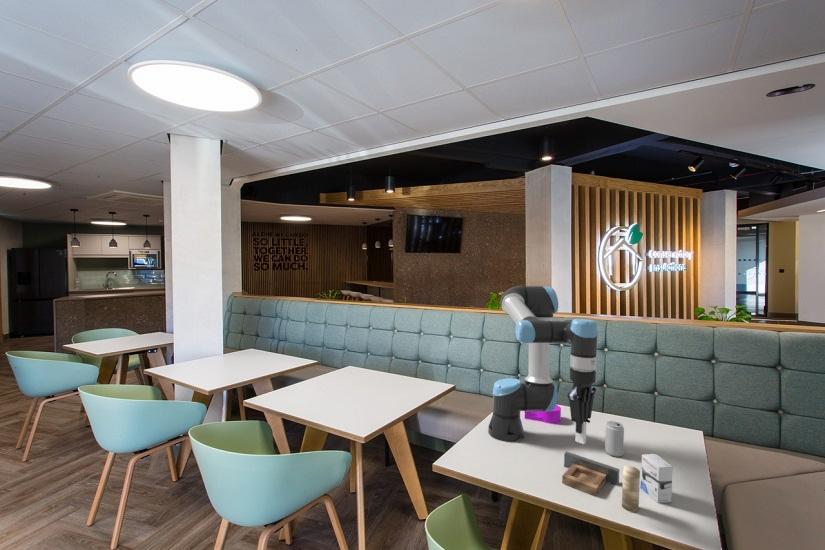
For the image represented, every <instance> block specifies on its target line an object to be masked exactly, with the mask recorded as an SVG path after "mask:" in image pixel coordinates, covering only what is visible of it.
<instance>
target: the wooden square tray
mask: <svg viewBox="0 0 825 550" xmlns="http://www.w3.org/2000/svg"><path fill="white" fill-rule="evenodd" d="M561 477H562V479H561V484H564V485H567V486H568V487H572V488H575V489H577V490H580V491H582V492H584V493H588V494H590V495H593V496H595V497H597V496H598V494H599V493H600V491H602V488H603V487H604V485H606V483H607V482H606V474H603V473H600V472H597V471H595V470H592V469H589V468H586V467H583V466H580V465H577V464H575V463H573V464H572V466H571V467H570V468H567V470H566V471H565V472H564V473H563V474H562V476H561Z"/></svg>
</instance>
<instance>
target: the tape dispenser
mask: <svg viewBox="0 0 825 550" xmlns="http://www.w3.org/2000/svg"><path fill="white" fill-rule="evenodd" d="M561 414H562V407H561V406H560V405H558V404H556V407H555V408H554V410H552V411H545V412H541V411H524V419H525V420H529V419H530V421H536V422H542V423H546V424H551V425H557V424H560V423H561V420H562V419H561V417H562V415H561Z"/></svg>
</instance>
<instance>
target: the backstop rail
mask: <svg viewBox="0 0 825 550" xmlns="http://www.w3.org/2000/svg"><path fill="white" fill-rule="evenodd" d="M573 463H575V464H577V465H580V466H583V467H586V468H589V469H592V470H595V471H597V472H600V473H603V474H606V483H608V484H611V485H614V486H617V487H618V486H619V485H620V469H619V468H617V467H614V466H610V465H608V464H605V463H603V462H599V461H597V460H593V459H591V458H587V457H584V456H581V455H579V454H576V453H572V452H570V451H565V452H564V454H563V467H564V468H567V469H569V468H570V467H571V466H572V464H573Z"/></svg>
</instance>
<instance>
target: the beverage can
mask: <svg viewBox="0 0 825 550" xmlns="http://www.w3.org/2000/svg"><path fill="white" fill-rule="evenodd" d="M624 434H625V428H624V425H623V424H622V423H621V422H618V421H614V420H613V421H612V420H609V421H607V422H606V424H605V436H604V437H605V439H604V450H605V452H606V453H607V455H610V456H612V457H616V458H617V457H621V456H623V455H624V439H625V435H624Z"/></svg>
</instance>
